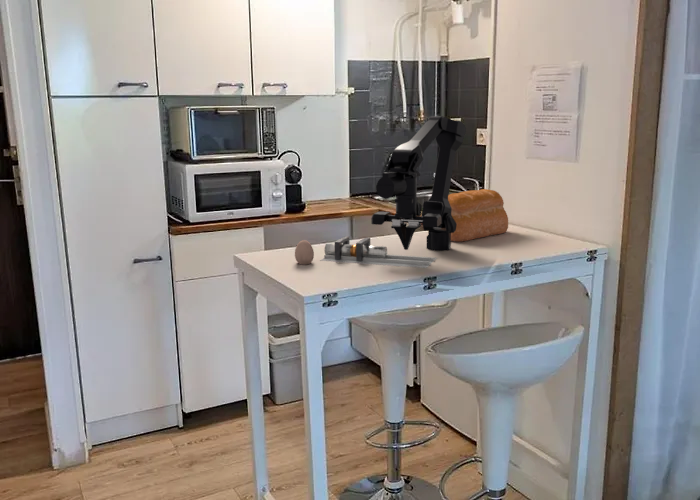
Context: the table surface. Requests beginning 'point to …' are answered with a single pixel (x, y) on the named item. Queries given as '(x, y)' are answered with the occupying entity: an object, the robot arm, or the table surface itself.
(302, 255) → the egg
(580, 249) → the table surface
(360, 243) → the dark gray arch
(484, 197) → the bread
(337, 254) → the collar
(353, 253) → the tube
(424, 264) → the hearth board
